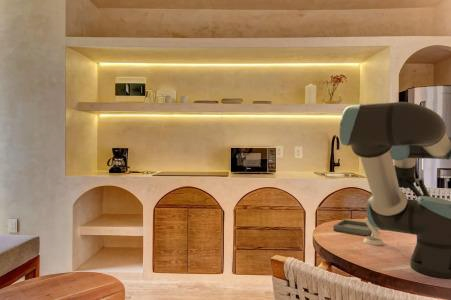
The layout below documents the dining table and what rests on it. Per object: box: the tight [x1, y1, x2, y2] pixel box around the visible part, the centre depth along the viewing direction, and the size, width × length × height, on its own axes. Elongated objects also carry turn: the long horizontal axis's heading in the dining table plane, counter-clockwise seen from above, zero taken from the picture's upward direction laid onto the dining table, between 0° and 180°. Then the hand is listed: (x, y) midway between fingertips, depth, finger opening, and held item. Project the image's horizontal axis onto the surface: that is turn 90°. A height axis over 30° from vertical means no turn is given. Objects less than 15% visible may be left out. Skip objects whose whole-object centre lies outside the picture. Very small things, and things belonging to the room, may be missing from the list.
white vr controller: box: [363, 217, 384, 246], centre depth 143 cm, size 8×12×7 cm
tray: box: [333, 219, 376, 237], centre depth 162 cm, size 15×15×2 cm
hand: (401, 214), depth 141 cm, fingers open, 13 cm apart
